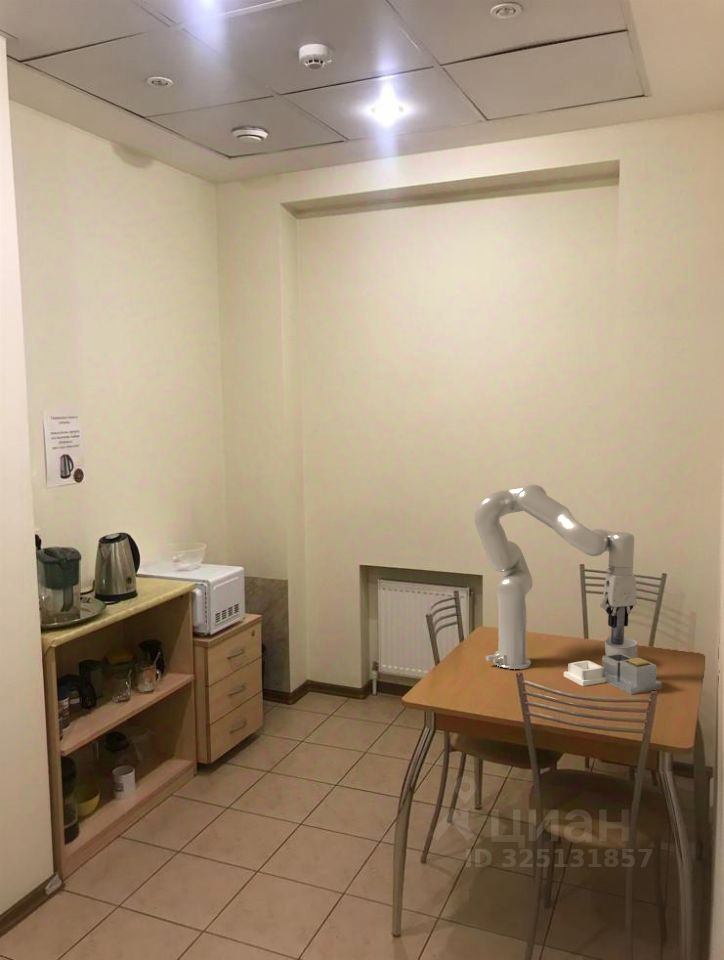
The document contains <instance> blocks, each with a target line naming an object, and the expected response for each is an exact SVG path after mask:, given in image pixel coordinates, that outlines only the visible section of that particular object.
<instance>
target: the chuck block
mask: <svg viewBox="0 0 724 960" xmlns="http://www.w3.org/2000/svg"><path fill="white" fill-rule="evenodd" d="M628 659H633V658H631V657H629V656H627V655H624V654H622V653H617V654H611V655H606V654H605V655H602V661H601V662H602V664H601V665H602V667H604V677H606V682H605V683H607V684H609V685H610V686H612V687H614V688H617V689H618V690H621V691H622V692H625V693H627V694H629V695H636V694H637V695H638V694H642V693H645V692H646V693H648V692H652V690H653V691H656V690H655V689H658V690H660V689H659V688H661V689H662V686H663V685H662V682H661V681H659V680H657V665H656V664H654V663H652V662H650V661H648V662H649V665H645V666H639V667H636V666H634V665H632V664H630V663H628Z"/></svg>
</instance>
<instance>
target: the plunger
mask: <svg viewBox="0 0 724 960" xmlns="http://www.w3.org/2000/svg"><path fill="white" fill-rule="evenodd" d="M649 662H650V661H648V660H646V659H643V658H641V657H637V658H633V659H628V663H630V664H632V665H634V666H636V667H639V666H645V665H649Z"/></svg>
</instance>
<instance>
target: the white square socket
mask: <svg viewBox="0 0 724 960" xmlns="http://www.w3.org/2000/svg"><path fill="white" fill-rule="evenodd" d="M567 665H568V666H567V671H563V677H564V678H566V679H568V680H570V681H572V682H574V683H576V684H578V685H580V686H581V687H586V686H587V687H588V686H592V685H598V684H602V683H603V684H604V683H606V677H604V667H602V666H601V665H600V664H597V663H595V662H593V661H590V660H588V659H587V660H582V661H575V662H569V663H568V664H567Z"/></svg>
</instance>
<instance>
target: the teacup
mask: <svg viewBox="0 0 724 960" xmlns="http://www.w3.org/2000/svg"><path fill="white" fill-rule="evenodd" d="M638 645H639V644H638V641H637V640H635V639H633V638H631V637H625V636H624V644H622V645H615V644H612V643H611V635H609V636H608V637H607V638H606V639H604V652H605V655H611V654H617V653H622V654H624V655H627V656H629V657H631V658H638Z"/></svg>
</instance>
